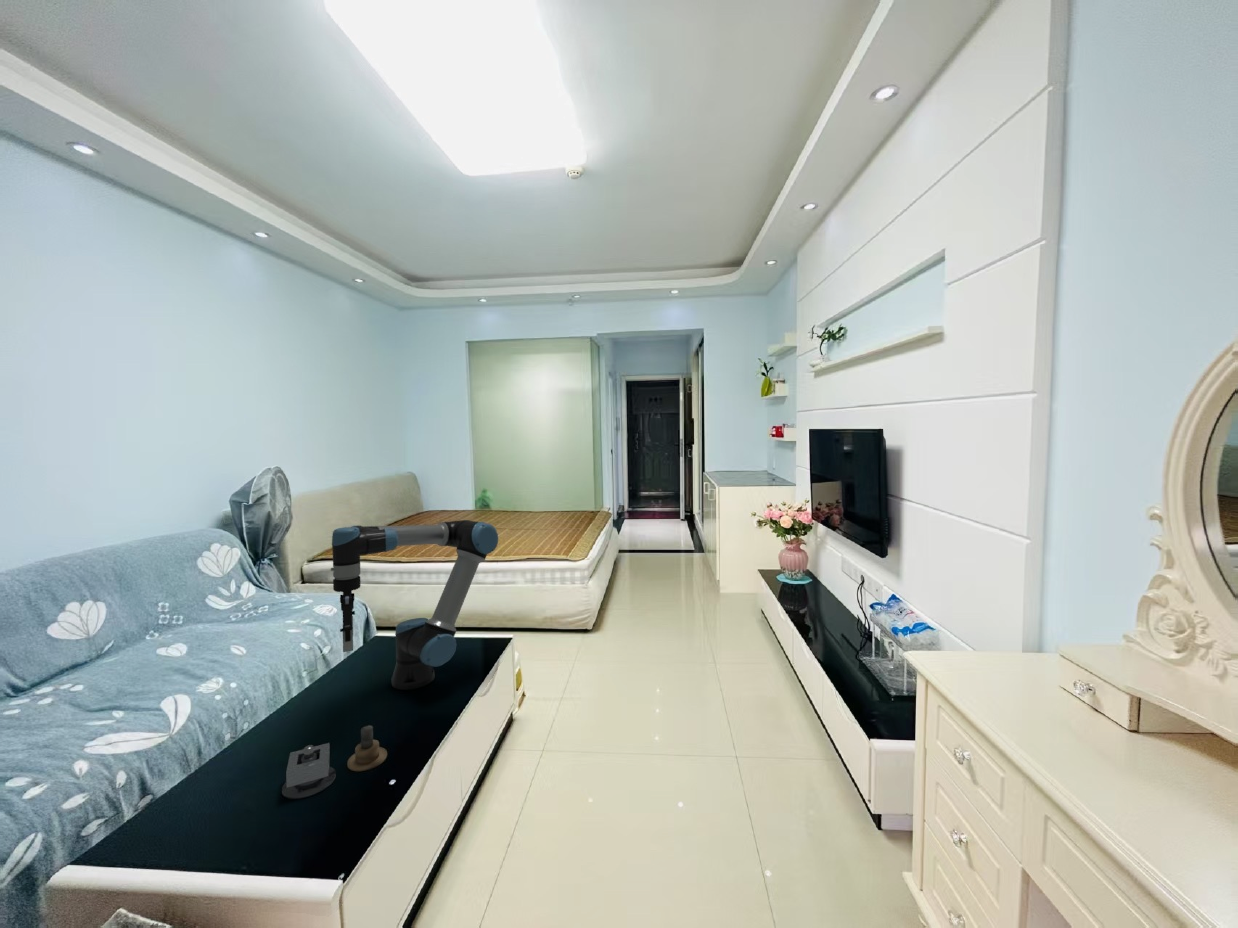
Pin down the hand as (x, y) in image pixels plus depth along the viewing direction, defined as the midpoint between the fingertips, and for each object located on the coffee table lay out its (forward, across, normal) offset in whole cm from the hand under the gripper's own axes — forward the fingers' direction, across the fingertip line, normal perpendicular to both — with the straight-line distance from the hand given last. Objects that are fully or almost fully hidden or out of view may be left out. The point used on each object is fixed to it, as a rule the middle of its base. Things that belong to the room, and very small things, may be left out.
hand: (348, 643), depth 154 cm
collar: (+24, +25, -9) cm, 36 cm away
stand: (+27, +22, +4) cm, 35 cm away
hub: (+27, +25, -9) cm, 38 cm away
